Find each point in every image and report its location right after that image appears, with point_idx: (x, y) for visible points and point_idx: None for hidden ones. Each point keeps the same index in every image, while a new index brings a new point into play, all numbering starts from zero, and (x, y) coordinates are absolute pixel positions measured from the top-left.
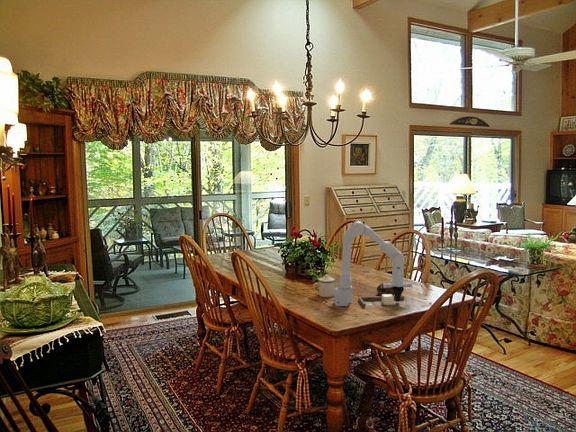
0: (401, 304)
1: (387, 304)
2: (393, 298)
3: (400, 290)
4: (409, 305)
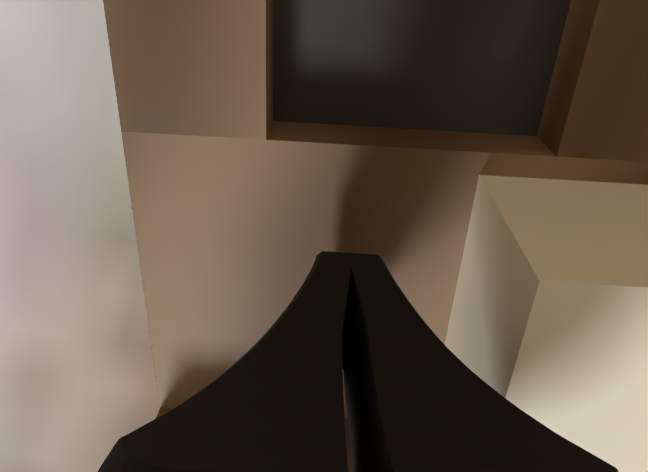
0: (296, 145)
1: (632, 186)
2: (532, 251)
3: (290, 448)
4: (114, 29)
